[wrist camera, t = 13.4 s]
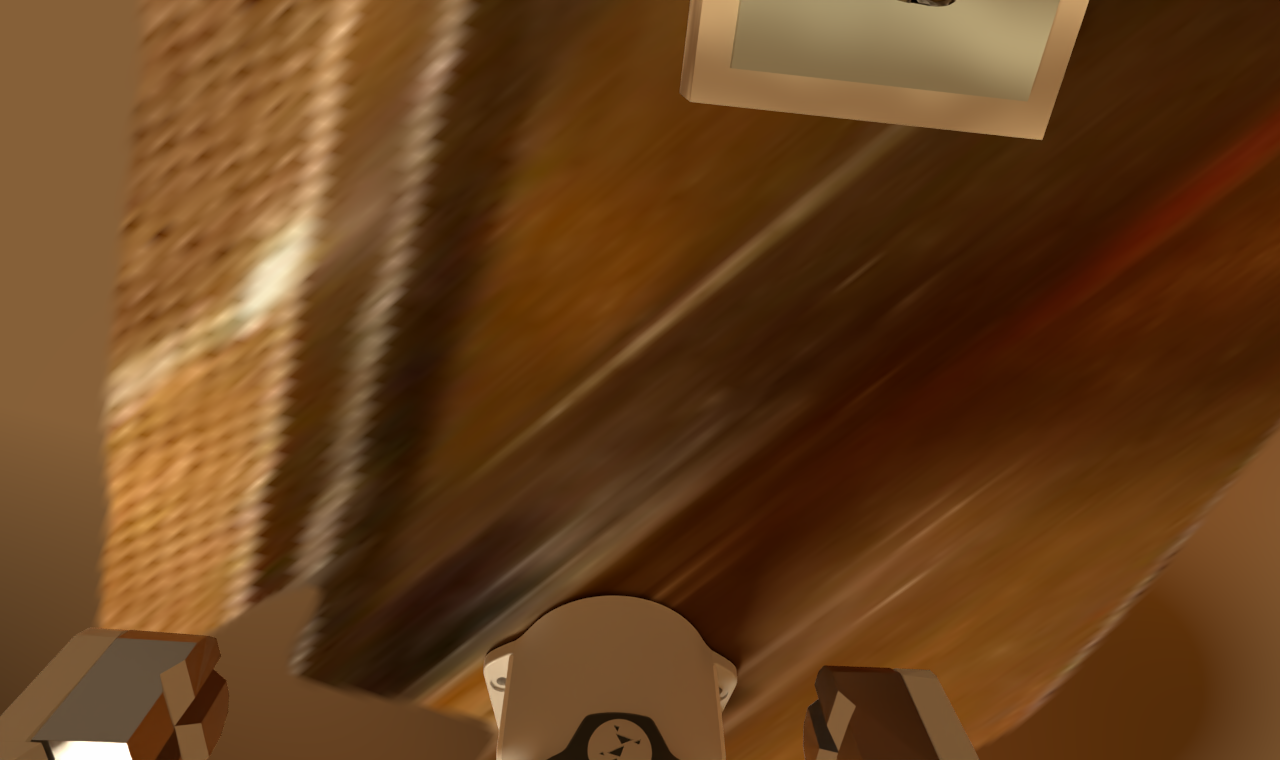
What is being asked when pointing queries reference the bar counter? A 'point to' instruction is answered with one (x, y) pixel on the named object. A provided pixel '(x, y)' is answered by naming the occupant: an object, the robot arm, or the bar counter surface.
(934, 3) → the cup
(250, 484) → the bar counter surface
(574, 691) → the robot arm
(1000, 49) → the tan square lid
